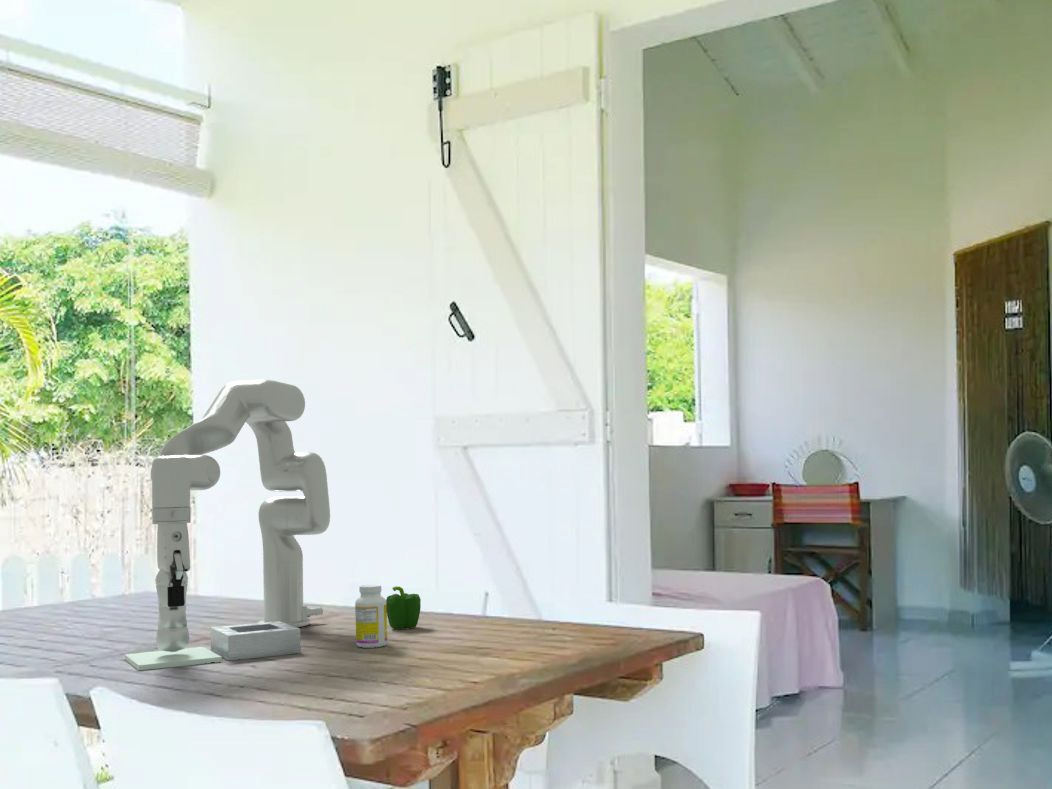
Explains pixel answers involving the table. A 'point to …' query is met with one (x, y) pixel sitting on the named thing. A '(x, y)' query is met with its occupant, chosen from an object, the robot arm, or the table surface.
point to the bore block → (255, 640)
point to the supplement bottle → (371, 617)
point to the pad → (172, 658)
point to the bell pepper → (403, 609)
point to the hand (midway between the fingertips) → (172, 603)
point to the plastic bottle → (171, 617)
